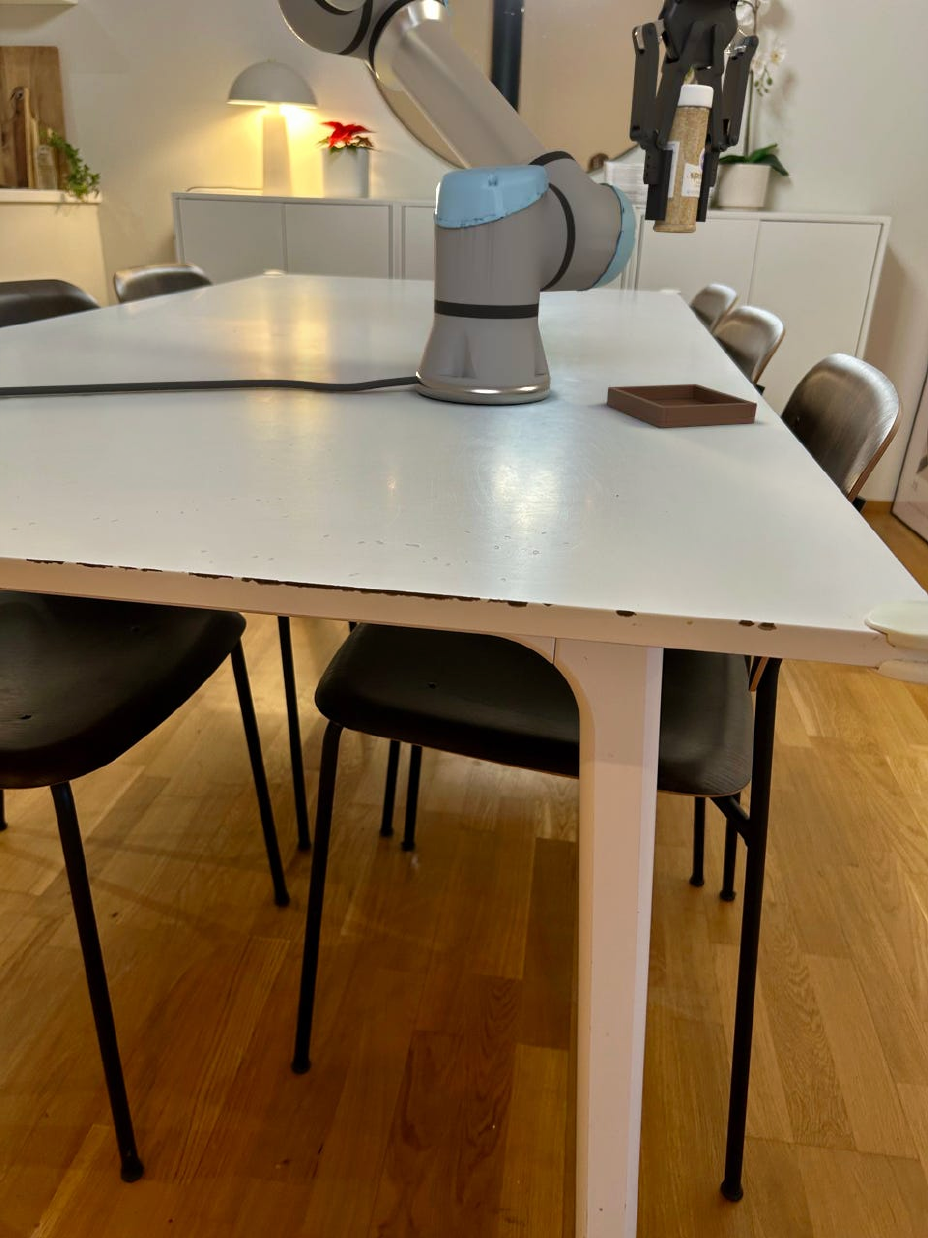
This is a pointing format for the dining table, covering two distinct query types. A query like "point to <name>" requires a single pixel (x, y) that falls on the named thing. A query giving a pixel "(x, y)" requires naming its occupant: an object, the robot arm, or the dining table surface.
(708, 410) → the serving tray
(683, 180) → the spice jar
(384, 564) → the dining table surface
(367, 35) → the robot arm
